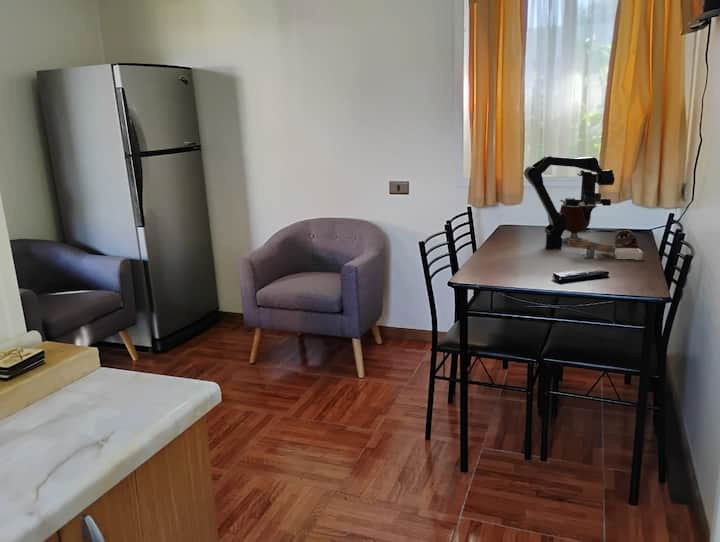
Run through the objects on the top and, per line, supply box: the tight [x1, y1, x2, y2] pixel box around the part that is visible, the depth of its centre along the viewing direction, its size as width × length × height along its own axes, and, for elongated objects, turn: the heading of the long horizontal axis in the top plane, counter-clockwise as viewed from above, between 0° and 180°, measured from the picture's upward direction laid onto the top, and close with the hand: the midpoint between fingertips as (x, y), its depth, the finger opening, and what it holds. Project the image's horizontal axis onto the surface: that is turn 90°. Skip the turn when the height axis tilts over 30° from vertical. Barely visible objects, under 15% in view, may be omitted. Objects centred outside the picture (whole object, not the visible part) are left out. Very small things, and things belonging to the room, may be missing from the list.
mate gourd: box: [559, 199, 592, 243], centre depth 288 cm, size 16×14×20 cm
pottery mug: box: [614, 229, 639, 247], centre depth 275 cm, size 12×10×8 cm
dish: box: [612, 247, 644, 261], centre depth 250 cm, size 10×7×3 cm
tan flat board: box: [567, 236, 616, 254], centre depth 257 cm, size 18×14×3 cm
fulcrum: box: [582, 247, 600, 260], centre depth 253 cm, size 5×8×5 cm, turn 169°
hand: (586, 220), depth 271 cm, fingers closed
